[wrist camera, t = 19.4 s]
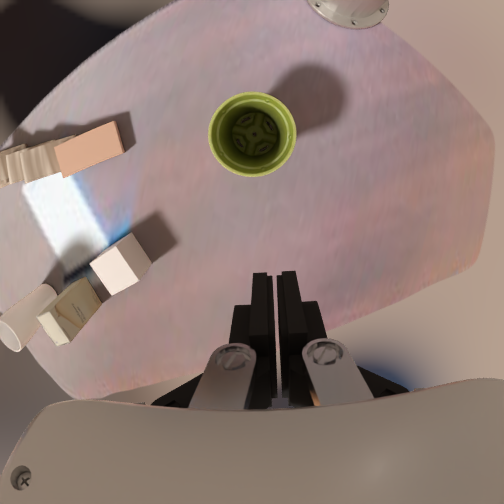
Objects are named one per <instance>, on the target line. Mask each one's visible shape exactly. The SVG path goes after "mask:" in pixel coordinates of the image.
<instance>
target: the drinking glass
mask: <svg viewBox="0 0 504 504" xmlns="http://www.w3.org/2000/svg"><path fill="white" fill-rule="evenodd" d="M56 297H57V293H56V291H55V290H54V289H53V288H52V287H51V286H50V285H48V284H41V285H40V286H39V287H37V288H36V289H35V290H34V291H32V292H31V293H29V294H28V295H27V296H25V297H24V298H23V299H21V300H20V301H18V302H17V303H16V304H14V305H13V306H12V307H10V308H9V309H8V310H7V311H6V312H5V313H4V314H3V315H2V316H1V317H0V339H1V340H2V341H3V343H4V344H5V345H6V346H7V347H8V348H10V349H11V350H13V351H15V352H19V351H20V350H21V349H22V348H23V347H24V346H25V345H26V344H27V343H28V342H29V341H30V339H31V338H32V337H33V335H34V334H35V333H36V331H37V330H38V328H39V327H40V326H41V324H40V322H39V321H38V319H37V318H36V317H37V315H39V314H40V313H41V312H42V311H43V310H44V309H45V308H46V307H47V306H48V305H49V304H50V303H51V302H52V301H53V300H54V299H55V298H56Z"/></svg>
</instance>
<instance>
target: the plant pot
mask: <svg viewBox="0 0 504 504" xmlns="http://www.w3.org/2000/svg"><path fill="white" fill-rule="evenodd" d="M247 117H250V119H249V120H246V121H245V122H244V123H241V121H242V120H243V119H245V118H247ZM266 122H269V123H270V125H271V126H272V128H273V130H271V129H270V127H269V126H268V124H267V123H266ZM254 132H255V133H256V136H253V133H254ZM237 139H239V141H240V143H241V144H242V146H243V147H240V145H239V144H238V143H237ZM208 140H209V145H210V148H211V151H212V153H213V155H214V156H215V158H216V159H217V161H218V162H219V163H220V164H221V165H222V166H223V167H225V168H226V169H228V170H229V171H231V172H233V173H235V174H238V175H242V176H247V177H258V176H263V175H266V174H269V173H272V172H274V171H275V170H277V169H278V168H280V167H281V166H282V165H283V164H284V163H285V162H286V161H287V160H288V158H289V157H290V155H291V154H292V152H293V149H294V147H295V143H296V125H295V121H294V119H293V116H292V114H291V113H290V111H289V110H288V108H287V107H286V106H285V105H284V104H283V103H282V102H281V101H279V100H278V99H277V98H275V97H273V96H271V95H268V94H265V93H261V92H244V93H240V94H237V95H235V96H233V97H231V98H229V99H227V100H226V101H225V102H224V103H222V104H221V105H220V106H219V108H218V109H217V110H216V112H215V113H214V115H213V117H212V119H211V122H210V125H209V130H208ZM266 146H268V147H267V148H266V149H265V150H264V151H262V152H260V151H259V149H262V148H264V147H266Z"/></svg>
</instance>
